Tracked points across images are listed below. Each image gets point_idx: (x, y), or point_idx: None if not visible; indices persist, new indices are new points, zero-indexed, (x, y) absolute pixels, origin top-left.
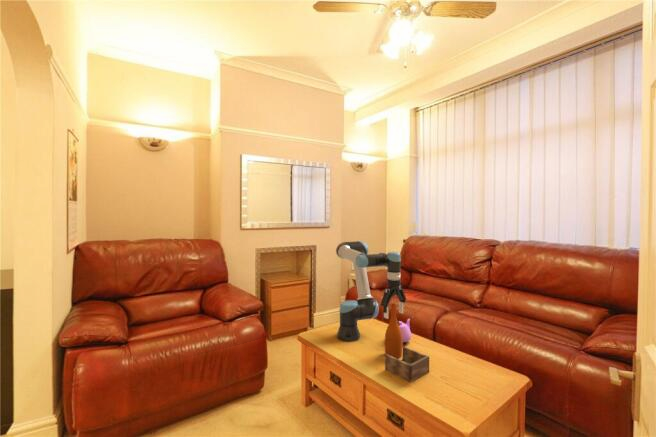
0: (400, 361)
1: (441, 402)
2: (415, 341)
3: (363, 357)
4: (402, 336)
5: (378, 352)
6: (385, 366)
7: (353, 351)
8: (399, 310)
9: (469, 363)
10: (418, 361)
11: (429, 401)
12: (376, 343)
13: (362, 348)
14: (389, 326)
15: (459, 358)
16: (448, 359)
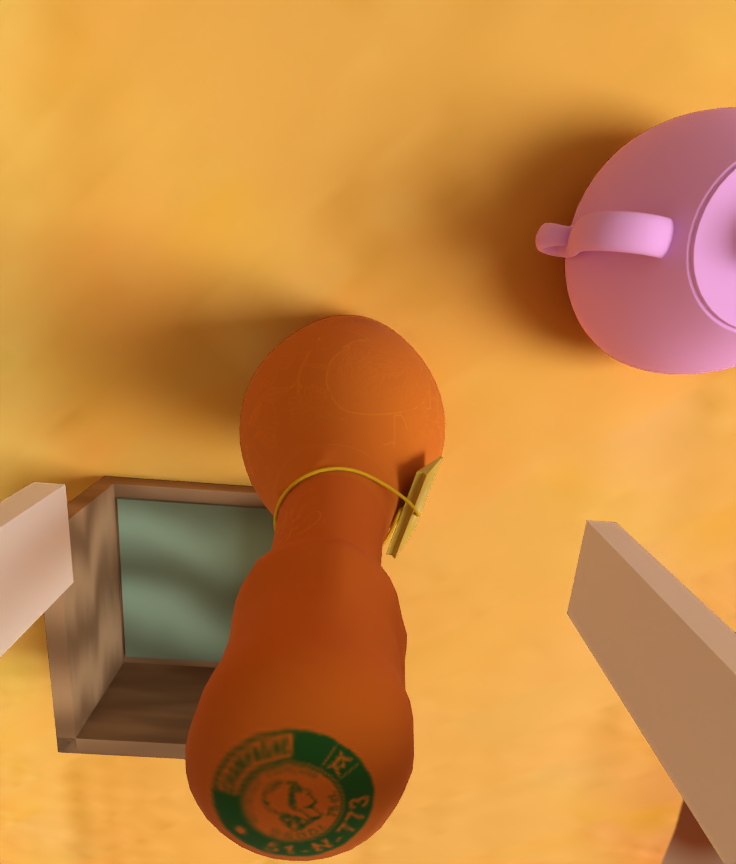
0: (50, 673)
1: (95, 830)
2: (732, 367)
3: (113, 222)
4: (612, 339)
5: (294, 258)
6: (90, 489)
7: (121, 55)
8: (606, 567)
9: (600, 776)
10: (166, 753)
11: (53, 796)
12: (444, 109)
13: (243, 78)
14: (259, 445)
15: (631, 717)
16: (569, 680)
